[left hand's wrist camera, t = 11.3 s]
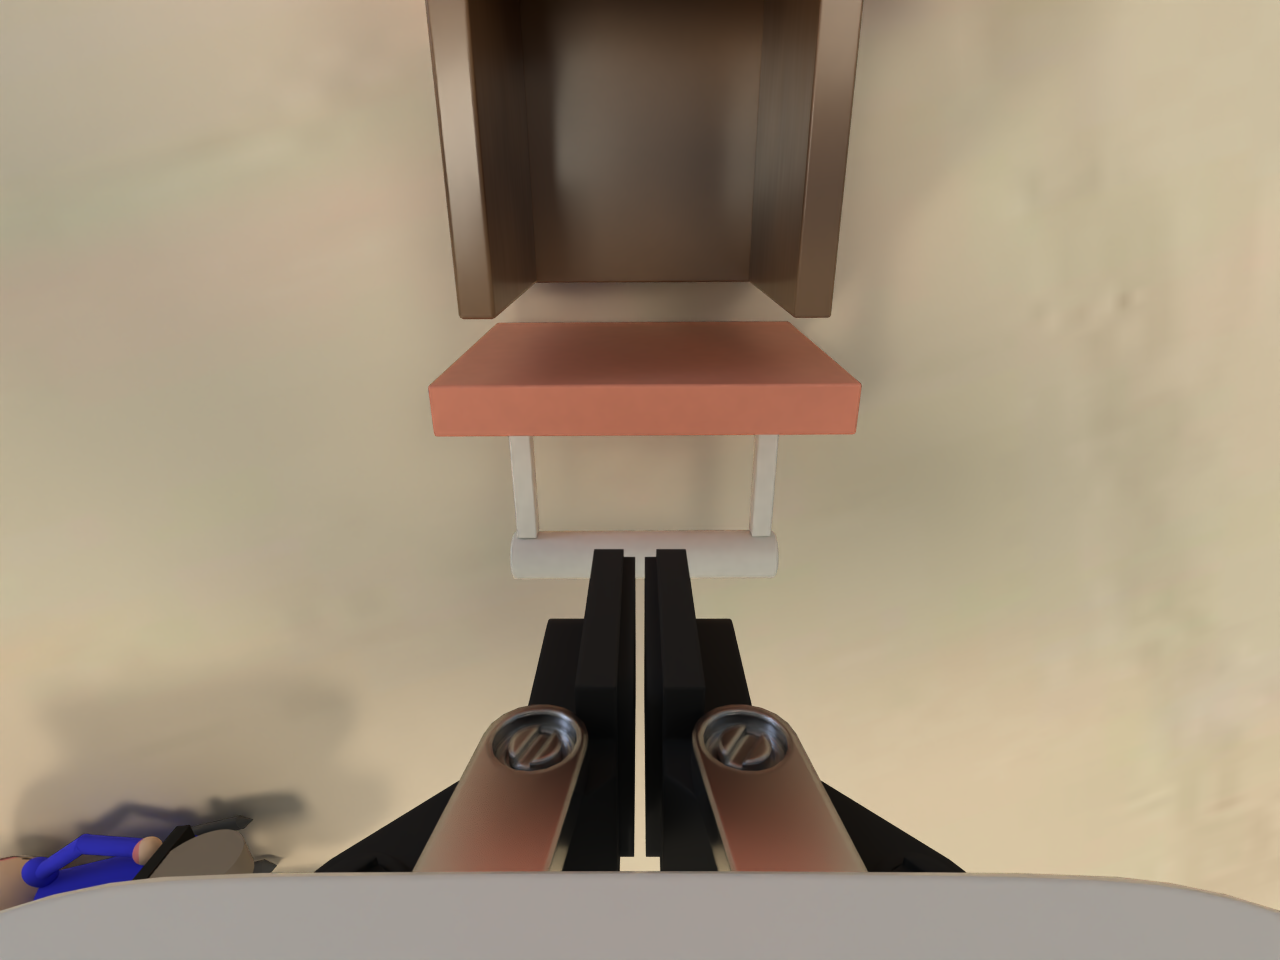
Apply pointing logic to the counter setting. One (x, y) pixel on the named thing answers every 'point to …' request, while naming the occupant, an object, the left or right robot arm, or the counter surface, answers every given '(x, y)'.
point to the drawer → (644, 234)
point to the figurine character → (131, 861)
